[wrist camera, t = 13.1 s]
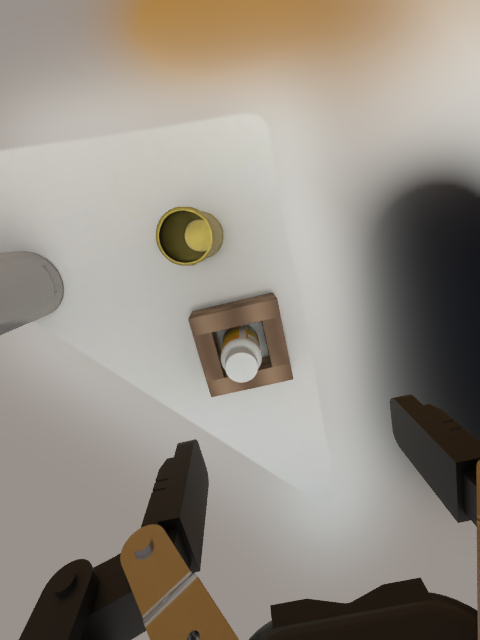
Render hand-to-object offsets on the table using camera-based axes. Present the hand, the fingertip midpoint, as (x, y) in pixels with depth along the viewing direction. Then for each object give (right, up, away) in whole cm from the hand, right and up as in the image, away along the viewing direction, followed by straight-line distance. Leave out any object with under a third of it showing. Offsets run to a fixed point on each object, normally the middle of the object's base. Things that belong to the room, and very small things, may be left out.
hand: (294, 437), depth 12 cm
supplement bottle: (-2, +2, +33) cm, 33 cm away
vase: (-8, +16, +29) cm, 34 cm away
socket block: (-2, +2, +33) cm, 33 cm away
